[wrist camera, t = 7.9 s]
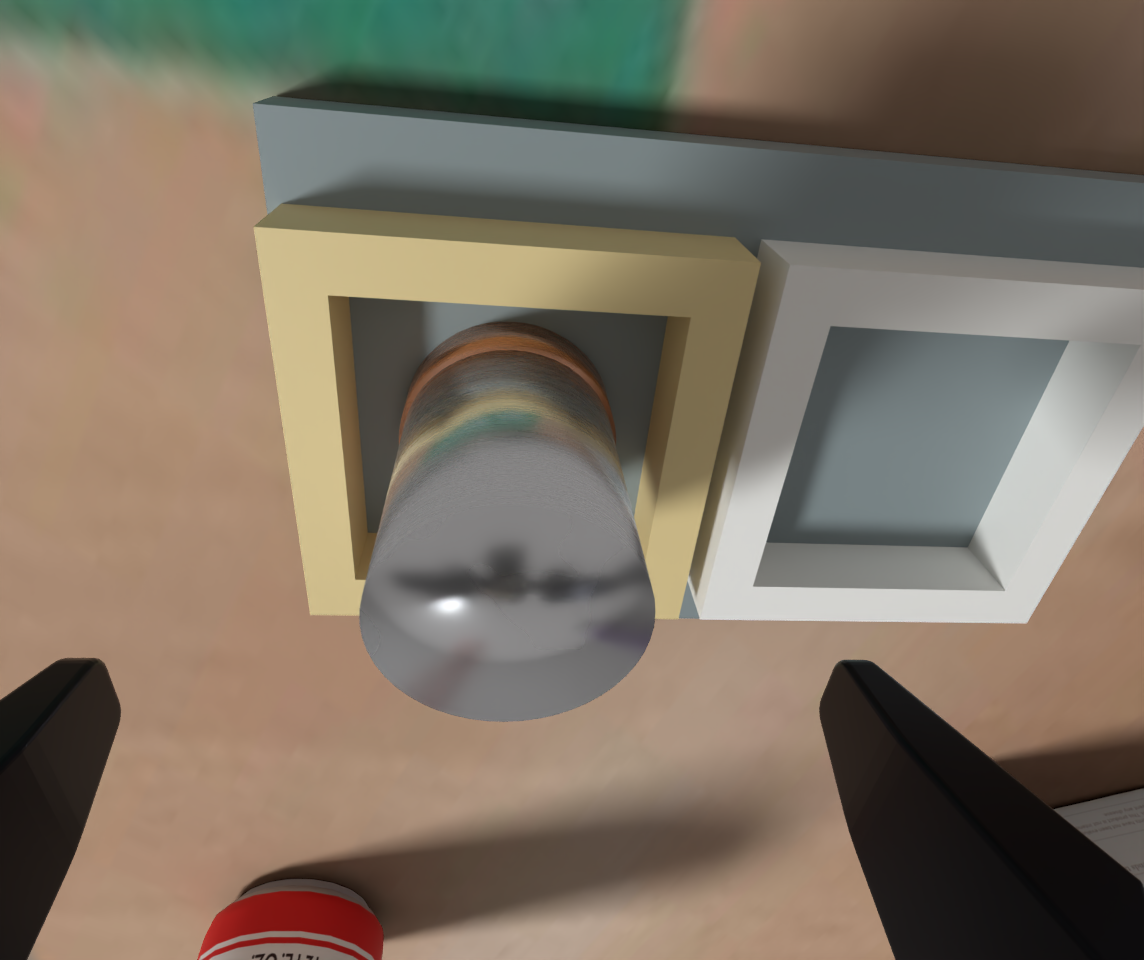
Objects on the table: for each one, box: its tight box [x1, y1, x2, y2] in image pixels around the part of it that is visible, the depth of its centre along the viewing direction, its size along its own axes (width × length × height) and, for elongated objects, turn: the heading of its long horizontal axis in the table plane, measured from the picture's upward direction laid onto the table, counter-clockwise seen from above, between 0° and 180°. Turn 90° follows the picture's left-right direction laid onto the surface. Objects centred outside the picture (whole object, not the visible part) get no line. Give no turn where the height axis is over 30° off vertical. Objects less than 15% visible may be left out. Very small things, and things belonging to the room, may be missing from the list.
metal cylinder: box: [359, 322, 656, 722], centre depth 12 cm, size 4×4×6 cm
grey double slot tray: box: [253, 96, 1144, 623], centre depth 15 cm, size 17×11×3 cm, turn 85°
